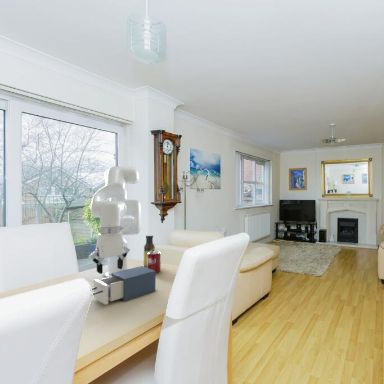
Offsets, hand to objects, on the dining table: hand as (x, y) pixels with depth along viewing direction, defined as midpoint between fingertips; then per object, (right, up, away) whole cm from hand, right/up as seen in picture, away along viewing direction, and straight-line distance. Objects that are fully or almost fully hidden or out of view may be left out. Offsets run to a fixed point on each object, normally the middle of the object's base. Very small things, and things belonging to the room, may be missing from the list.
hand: (110, 270), depth 113 cm
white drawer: (0, -12, 0) cm, 12 cm away
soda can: (+5, -13, +36) cm, 39 cm away
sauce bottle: (-2, -13, +47) cm, 48 cm away
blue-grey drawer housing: (+6, -13, +8) cm, 17 cm away
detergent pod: (0, -11, 0) cm, 11 cm away
